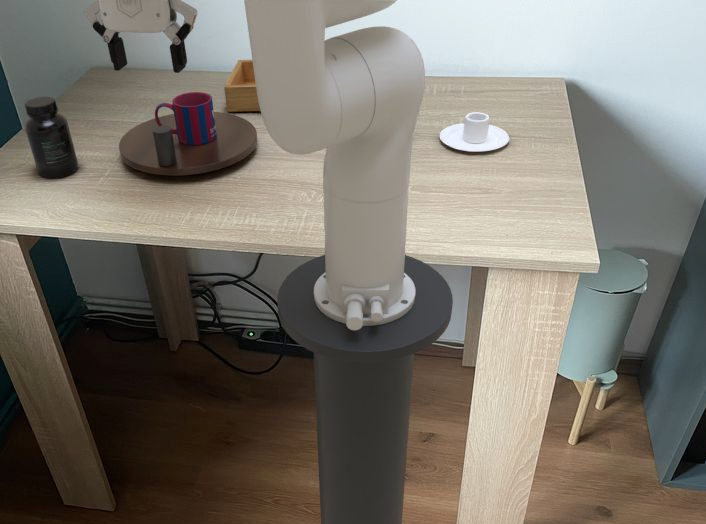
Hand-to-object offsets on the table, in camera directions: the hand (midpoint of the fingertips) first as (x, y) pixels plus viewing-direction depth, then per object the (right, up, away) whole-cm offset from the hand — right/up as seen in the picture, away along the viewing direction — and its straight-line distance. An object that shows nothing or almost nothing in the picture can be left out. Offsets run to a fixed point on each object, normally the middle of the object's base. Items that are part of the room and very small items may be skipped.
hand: (150, 68), depth 109 cm
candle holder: (+53, -6, +19) cm, 57 cm away
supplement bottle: (-19, -11, +16) cm, 28 cm away
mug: (+3, -5, +18) cm, 19 cm away
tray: (+24, +8, +37) cm, 45 cm away
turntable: (+3, -6, +18) cm, 19 cm away
